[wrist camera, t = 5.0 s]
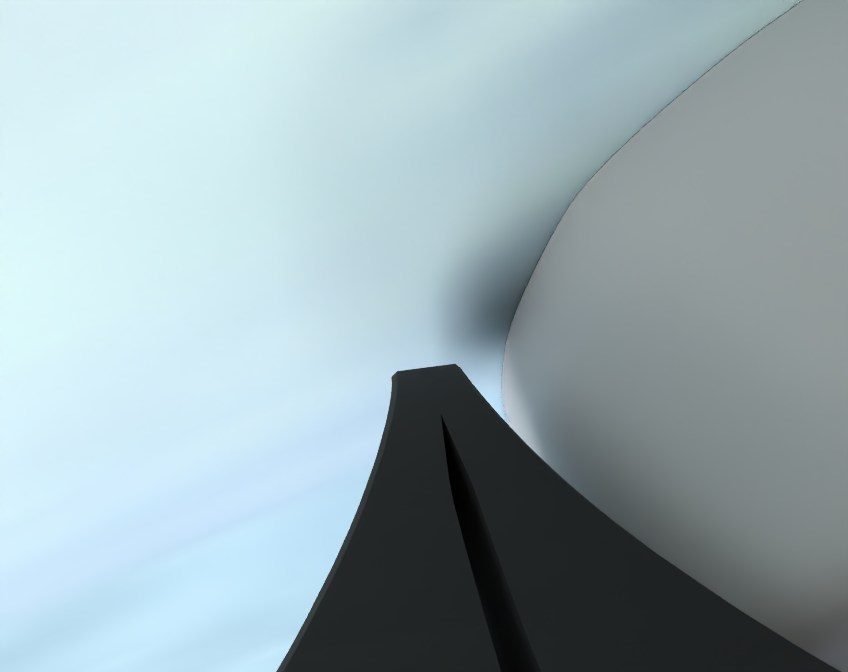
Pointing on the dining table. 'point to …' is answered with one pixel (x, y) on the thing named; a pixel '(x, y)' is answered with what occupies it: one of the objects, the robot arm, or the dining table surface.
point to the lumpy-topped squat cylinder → (712, 333)
